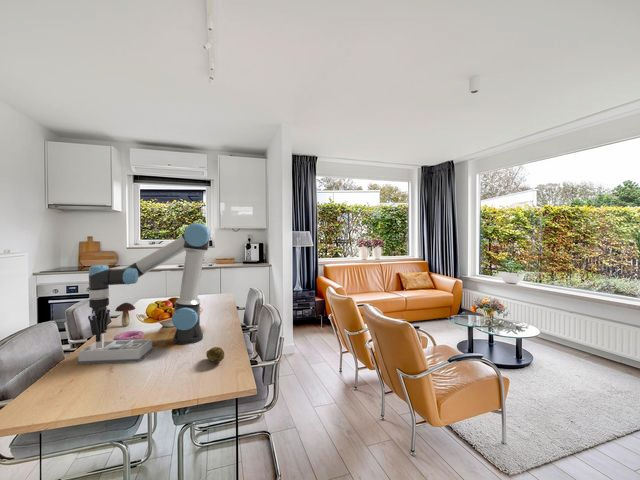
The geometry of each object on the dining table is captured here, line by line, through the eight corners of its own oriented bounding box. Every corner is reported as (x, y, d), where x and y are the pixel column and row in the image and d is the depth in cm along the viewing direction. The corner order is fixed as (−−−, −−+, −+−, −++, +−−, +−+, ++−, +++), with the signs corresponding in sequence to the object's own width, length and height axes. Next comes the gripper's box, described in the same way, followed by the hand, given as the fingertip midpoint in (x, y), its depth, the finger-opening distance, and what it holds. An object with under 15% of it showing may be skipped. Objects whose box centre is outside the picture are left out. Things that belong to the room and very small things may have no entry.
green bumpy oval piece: (225, 356, 143) (225, 339, 143) (224, 367, 131) (224, 349, 131) (206, 358, 141) (206, 341, 141) (203, 370, 128) (203, 351, 128)
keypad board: (152, 350, 151) (152, 339, 151) (139, 361, 137) (139, 349, 137) (97, 352, 148) (97, 340, 148) (77, 364, 134) (77, 351, 134)
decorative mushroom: (139, 324, 194) (139, 301, 194) (125, 329, 184) (124, 305, 184) (125, 323, 197) (125, 300, 197) (110, 328, 186) (110, 304, 186)
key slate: (125, 348, 145) (125, 343, 145) (119, 352, 140) (119, 347, 140) (114, 349, 144) (114, 343, 144) (109, 352, 140) (109, 347, 139)
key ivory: (142, 348, 146) (142, 342, 146) (138, 351, 141) (138, 346, 141) (132, 348, 145) (132, 343, 145) (127, 352, 140) (127, 346, 140)
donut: (107, 349, 152) (107, 339, 152) (120, 339, 166) (120, 330, 166) (138, 347, 155) (138, 337, 155) (148, 338, 169) (148, 329, 169)
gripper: (99, 295, 147) (99, 343, 147) (81, 301, 134) (82, 353, 134) (115, 295, 148) (116, 342, 148) (99, 300, 135) (99, 352, 135)
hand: (99, 347), depth 141 cm, fingers closed
